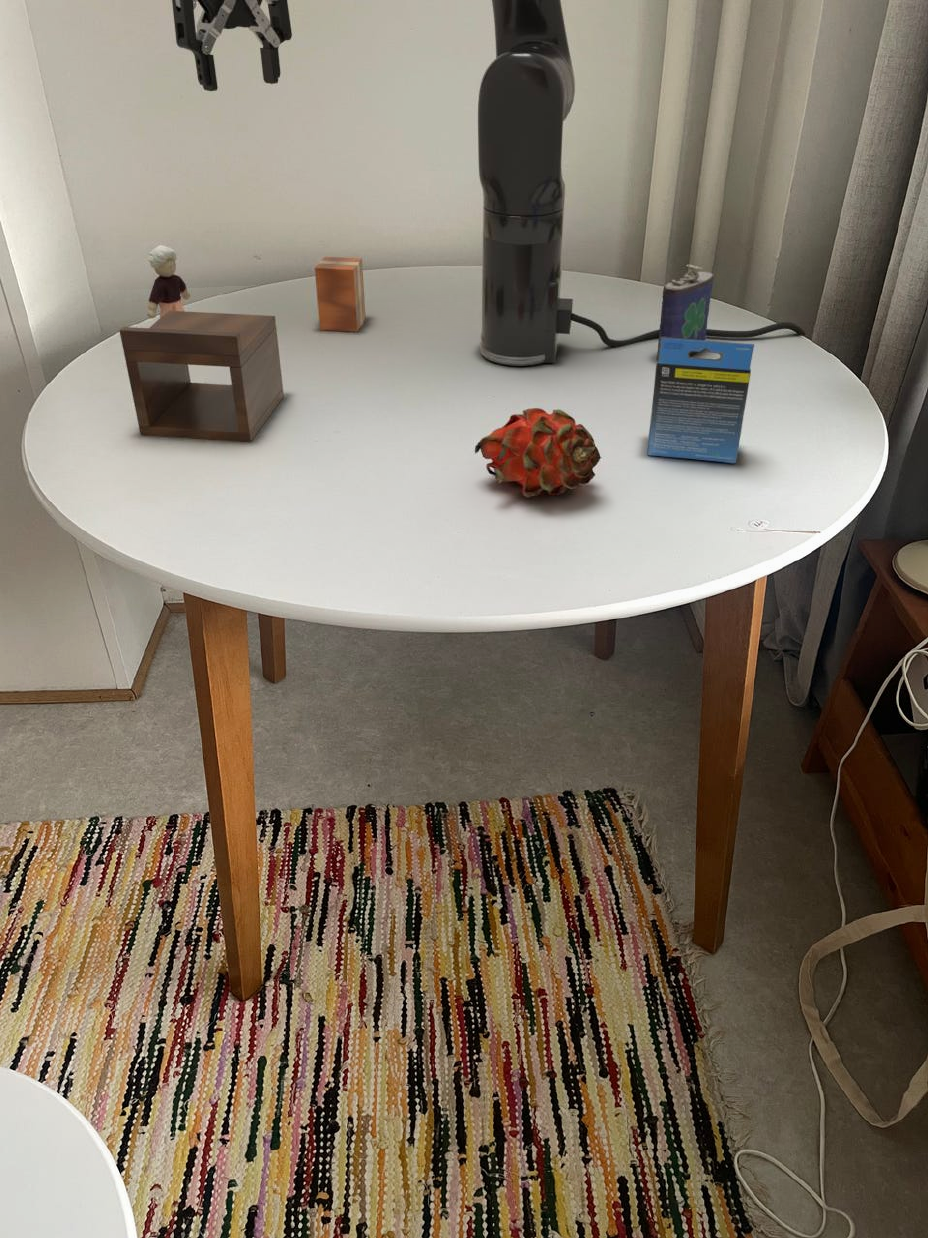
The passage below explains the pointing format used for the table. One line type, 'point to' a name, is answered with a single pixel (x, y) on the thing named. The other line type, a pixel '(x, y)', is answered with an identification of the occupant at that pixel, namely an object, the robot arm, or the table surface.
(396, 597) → the table surface
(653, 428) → the tape cartridge
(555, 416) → the dragon fruit
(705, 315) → the flask
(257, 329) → the shelf
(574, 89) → the robot arm
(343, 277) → the block
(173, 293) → the grandmother figurine
